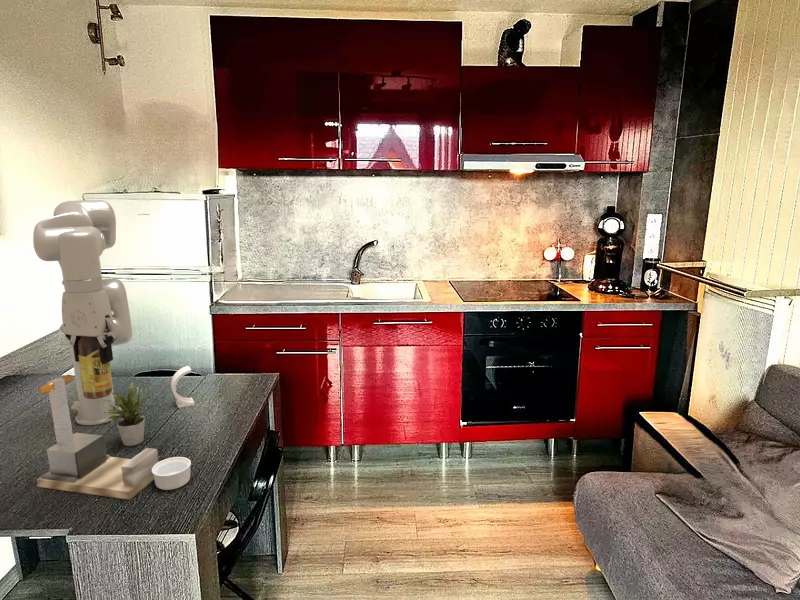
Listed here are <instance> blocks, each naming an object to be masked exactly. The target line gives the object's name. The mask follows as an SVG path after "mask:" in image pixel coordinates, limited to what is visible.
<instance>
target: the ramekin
mask: <svg viewBox="0 0 800 600" xmlns="http://www.w3.org/2000/svg"><path fill="white" fill-rule="evenodd" d="M191 465H192V461H191V459H189V458H187V457H184V456H173V457H167V458H165V459H163V460H160V461H159V462H158V463H156V464H155V465H154V466H153V468H152V474H153V476H154V480H153V481H154V485H155V486H156V487H157V488H158V489H161V490H162V491H163V490H165V491H171V490H175V489H179V488H181V487H183V486H184V485H186V484H188V482H189V481H190V479H191Z"/></svg>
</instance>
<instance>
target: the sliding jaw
mask: <svg viewBox="0 0 800 600" xmlns="http://www.w3.org/2000/svg"><path fill="white" fill-rule="evenodd" d="M73 380H74V378H73V376H72V375H71V374H66V375H64V376H61V377H55V378H54V379H52V380H49V381H47V382H46V383H45V384H44V385H42V386H39V388H38V392H39V393H40V394H41V395H42V396H43V395H47V394H48V397H49V403H50V409H51V410H50V411H51V417H52V422H53V429H54V434H55V440H56V444H53V445H52V446H50V447H49V448H47V449H46V452H47V458H48V459H47V461H48V466H49V471H50V472H51V474H53V475H60V476H68V477H75V478H79V479H80V478H82V477H83V476H85V475H86V474H87V473H89V472H90V471H92V470H93V469H95V468H96V467H97V466H99V465H100V464H102V463H103V462H105V461H106V460H107V455H108V454H107V448H106V444H105V443H106V441H105V435H101V434H91V433H82V432H74V433H73V429H72V428H73V427H72V421H71V414H70V413H71V412H70V408H69V402H68V401H69V400H68V395H67V388H66V385H68V384H70V383H72V382H73Z"/></svg>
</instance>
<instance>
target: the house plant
mask: <svg viewBox="0 0 800 600" xmlns="http://www.w3.org/2000/svg"><path fill="white" fill-rule="evenodd" d="M135 387H136V385H134V382H133V381H132V382H131V383H130V386H129V388H128V389H129V390H128V394H127V399H126V398H125V397H124V396H122V395H121V394H119V393H115V392H114V393H113V392H111V394H112V395H114V399H115V400H117V402H116V401H115V402H114V403H115V405H116V407H117V406H119V407H120V408H121V409H122V410H120V409H119V408H118V407H117V408H118V409H119V410H118V409H116V408H115V407H114V406H112V405H109V406H111V407H112V408H113V409H111V410H109V411H107V412H104V413H105V414H106V413H112V414H120V416H114V415H113V416H111V417H109V418H108V420H109V419H112V420H111V421H110V423H112V422H115V421H116V420H117V419H119V420H118V421H117V423H116V426H117V429H118V433H119V435H120V438H121V441H122V445H124V446H127V447H132V446H137V445H140V444H142V443H143V441H144V436H145V423H146V422H145V421H146V419H145V414H141V415H139V414H140V412H141V411H142V409H143V408H145V407H146V406H148V405H153V403H151V402H150V403H146V404H145V405H143V406H141V408H140V405H141V404H142V402H143V401H144V400H145V398H146V397H147V395H149V393H147V394H146V395H145V396H144V397H143V398H142V399H141V395H142V389H143V388H142V387H141V388H140V391H139V386H137V388H136V391H135V396H134V399H133V393H134V388H135ZM100 401H110V400H100ZM111 402H113V401H111ZM104 403H106V402H104ZM108 403H109V402H108ZM113 405H114V404H113ZM139 408H140V409H139ZM138 409H139V410H138ZM108 415H110V414H108ZM108 420H107V421H108Z"/></svg>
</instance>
